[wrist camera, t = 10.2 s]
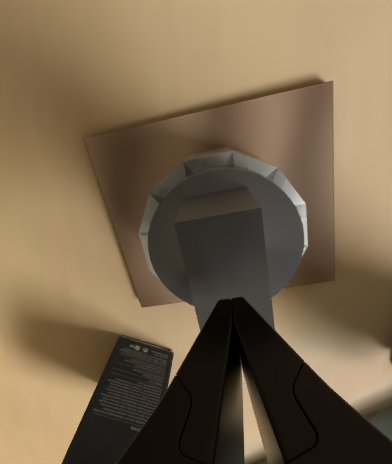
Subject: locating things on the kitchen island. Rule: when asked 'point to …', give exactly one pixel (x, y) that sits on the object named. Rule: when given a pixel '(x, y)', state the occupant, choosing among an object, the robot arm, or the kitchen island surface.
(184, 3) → the kitchen island surface
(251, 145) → the stand
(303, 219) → the toothed hollow cylinder
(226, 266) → the lens cap
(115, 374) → the box
